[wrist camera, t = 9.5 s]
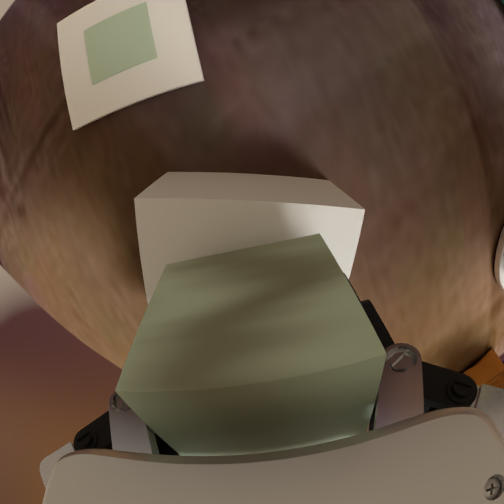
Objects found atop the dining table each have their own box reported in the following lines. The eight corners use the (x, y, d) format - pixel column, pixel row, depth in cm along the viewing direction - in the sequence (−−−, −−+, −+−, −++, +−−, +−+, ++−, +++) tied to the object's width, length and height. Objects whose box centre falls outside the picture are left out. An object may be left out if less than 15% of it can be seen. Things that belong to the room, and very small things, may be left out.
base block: (327, 179, 17) (365, 209, 11) (305, 306, 21) (321, 364, 16) (168, 171, 16) (134, 198, 11) (176, 302, 21) (160, 360, 15)
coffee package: (444, 405, 34) (483, 498, 14) (449, 375, 29) (504, 492, 9) (486, 376, 32) (531, 461, 12) (498, 339, 27) (560, 442, 7)
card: (179, -30, 9) (177, -34, 9) (204, 81, 14) (202, 79, 13) (60, 24, 10) (55, 22, 9) (76, 129, 14) (71, 130, 14)
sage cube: (319, 233, 10) (386, 353, 5) (327, 343, 13) (359, 450, 8) (166, 264, 11) (115, 391, 5) (210, 363, 13) (201, 471, 8)
